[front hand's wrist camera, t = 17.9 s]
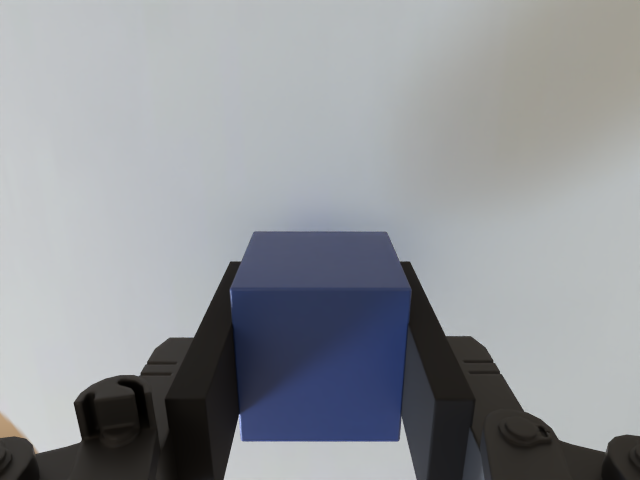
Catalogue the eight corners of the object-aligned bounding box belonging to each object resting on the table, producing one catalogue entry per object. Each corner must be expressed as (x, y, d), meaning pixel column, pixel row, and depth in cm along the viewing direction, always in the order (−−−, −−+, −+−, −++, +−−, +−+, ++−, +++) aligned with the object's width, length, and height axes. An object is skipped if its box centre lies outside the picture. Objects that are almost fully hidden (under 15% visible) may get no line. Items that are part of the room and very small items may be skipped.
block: (253, 230, 14) (229, 288, 10) (387, 231, 14) (412, 288, 10) (259, 353, 16) (240, 442, 12) (380, 353, 16) (399, 442, 12)
